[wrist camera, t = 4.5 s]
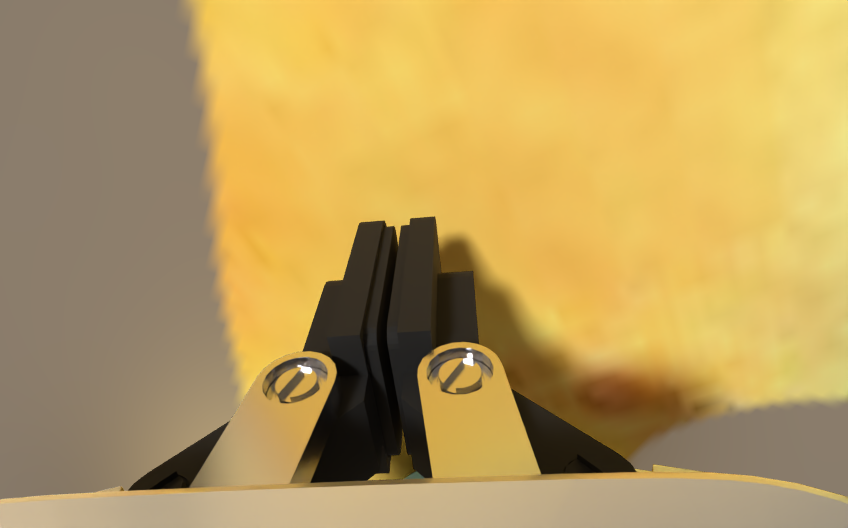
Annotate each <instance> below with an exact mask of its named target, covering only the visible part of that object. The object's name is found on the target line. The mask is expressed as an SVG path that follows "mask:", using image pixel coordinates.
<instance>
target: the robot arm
mask: <svg viewBox="0 0 848 528" xmlns="http://www.w3.org/2000/svg"><path fill="white" fill-rule="evenodd" d="M402 431H403V432H404V438H405V443H406V449H407V453H408V455H411V456H412V462H413V467H414V469H415V470H416V471H417V472H418V473H419V474H420V475H422V476H423V477H424V478H423V479H397V480H371V481H367V480H368V479H370V478H371V477H372V476H373V475H374V474H378V473H389V471H390V461H391V455H400V453H401V443H402ZM0 528H848V497H846V496H843V495H839V494H835V493H831V492H828V491H824V490H821V489H817V488H813V487H810V486H805V485H802V484H798V483H792V482H786V481H780V480H774V479H768V478H763V477H757V476H748V475H736V474H723V473H709V472H701V471H694V470H688V469H681V468H675V467H668V466H662V465H655V464H653V468H652V471H646V470H640V469H634V467H633V466H632V465H631V463H630V462H628V461H627V460H626V459H624V458H623V457H622V456H621V455H619V454H618V453H616V452H615V451H613V450H611V449H610V448H608V447H607V446H605V445H603V444H602V443H600V442H598V441H597V440H595V439H593V438H592V437H590V436H588V435H587V434H585V433H583V432H582V431H580V430H578V429H577V428H575V427H573V426H572V425H570V424H568V423H567V422H565V421H564V420H562V419H560V418H559V417H557V416H555V415H554V414H552V413H550V412H549V411H547V410H545V409H544V408H542V407H540V406H539V405H537V404H535V403H534V402H532V401H530V400H529V399H527V398H525V397H524V396H522V395H520V394H519V393H517V392H516V391H514V390H512V389H511V388H510V385H509V382H508V379H507V377H506V374H505V371H504V368H503V365H502V363H501V361H500V359H499V358H498V356H497V355H496V354H495V353H494V352H492V351H491V350H490V349H489V348H487V347H484V346H482V345H479V340H478V328H477V315H476V303H475V290H474V278H473V271H465V272H451V273H441V264H440V255H439V245H438V236H437V226H436V219H435V217H424V218H411V219H410V225H404V226H401V231H400V238H399V245H398V242H397V235H396V230H395V227H394V226H391V227H387V226H386V223H385V221H374V222H361V223H359V226H358V229H357V233H356V236H355V240H354V243H353V247H352V250H351V254H350V257H349V261H348V264H347V268H346V271H345V275H344V278H343V280H339V281H328V282H326V284H325V286H324V289H323V292H322V295H321V298H320V301H319V304H318V307H317V310H316V313H315V316H314V319H313V322H312V325H311V328H310V331H309V334H308V337H307V340H306V343H305V346H304V349H303V352H296V353H293V354H289V355H285V356H283V357H281V358H279V359H277V360H275V361H273V362H272V363H271V364H269V365H268V366H267V367H265V368H264V369H263V370H262V372H261V373H260V374H259V375H258V377H257V378H256V380H255V381H254V383H253V384H252V386H251V388H250V389H249V391H248V393H247V394H246V396H245V398H244V399H243V401H242V402H241V404H240V406H239V407H238V409H237V411H236V412H235V414H234V416H233V417H232V419H231V420H230V421H229V422H227V423H226V424H224V425H223V426H221V427H220V428H218V429H217V430H215V431H213V432H212V433H210V434H209V435H207V436H206V437H204V438H202V439H201V440H199V441H198V442H196V443H194V444H193V445H191V446H190V447H188V448H186V449H185V450H183V451H182V452H180V453H179V454H177V455H175V456H174V457H172V458H171V459H169V460H168V461H166V462H164V463H163V464H161V465H160V466H158V467H156V468H155V469H153V470H152V471H150V472H149V473H147V474H146V475H144V476H143V477H142V478H141V479H139V480H138V481H137V482H135V483H134V484H133V485H132V486H131V488H130V489H129V490H128V491H124V490H123V488H122V486H119V487H114V488H110V489H106V490H101V491H97V492H93V493H78V494H60V495H45V496H33V497H21V498H9V499H0Z"/></svg>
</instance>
